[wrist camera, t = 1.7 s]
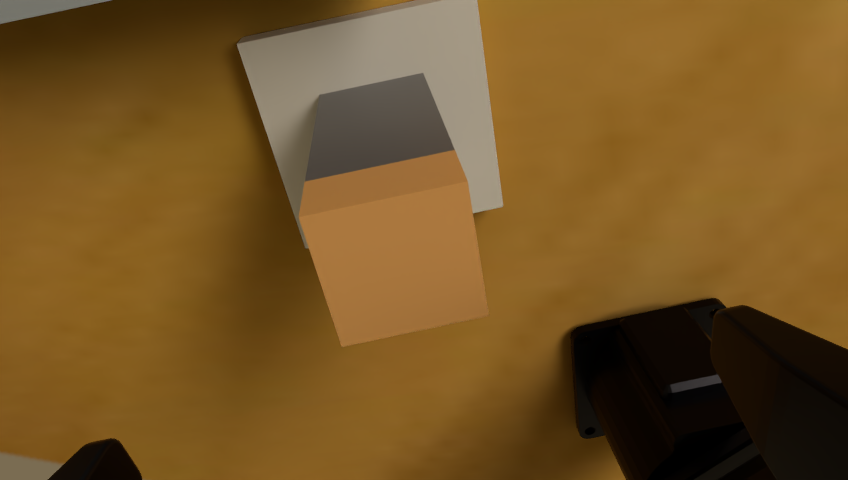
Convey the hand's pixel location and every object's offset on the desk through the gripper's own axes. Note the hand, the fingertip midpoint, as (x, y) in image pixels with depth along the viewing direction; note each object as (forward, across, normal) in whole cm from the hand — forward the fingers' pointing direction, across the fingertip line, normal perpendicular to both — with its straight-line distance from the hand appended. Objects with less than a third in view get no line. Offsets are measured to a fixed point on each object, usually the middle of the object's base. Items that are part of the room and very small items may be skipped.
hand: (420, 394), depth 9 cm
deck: (+12, 0, 0) cm, 12 cm away
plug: (+11, 0, 0) cm, 11 cm away
